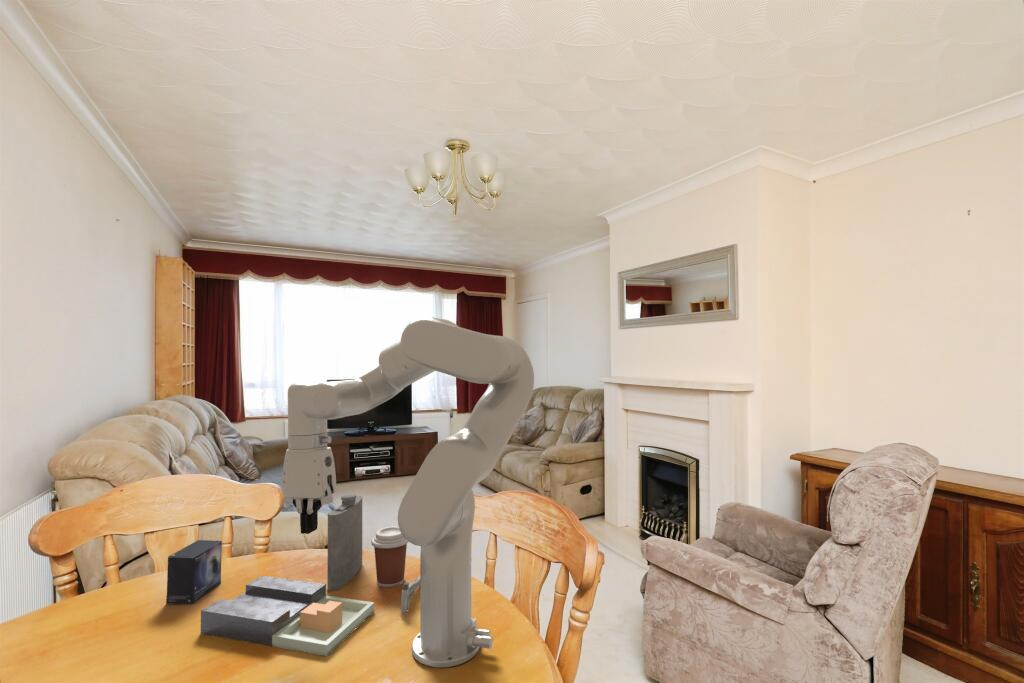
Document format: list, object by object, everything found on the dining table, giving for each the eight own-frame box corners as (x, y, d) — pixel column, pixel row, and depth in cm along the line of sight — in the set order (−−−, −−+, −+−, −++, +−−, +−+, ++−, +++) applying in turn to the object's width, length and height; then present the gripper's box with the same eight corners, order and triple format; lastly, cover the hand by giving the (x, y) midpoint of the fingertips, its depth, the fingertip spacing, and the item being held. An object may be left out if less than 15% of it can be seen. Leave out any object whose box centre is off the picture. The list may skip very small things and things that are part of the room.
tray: (374, 612, 104) (374, 602, 104) (327, 656, 89) (327, 645, 89) (325, 604, 108) (325, 595, 108) (272, 646, 92) (272, 635, 92)
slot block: (325, 604, 108) (325, 584, 108) (272, 646, 92) (272, 622, 92) (262, 595, 112) (262, 575, 112) (200, 633, 97) (200, 610, 97)
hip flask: (352, 562, 130) (352, 486, 131) (367, 562, 130) (367, 486, 131) (325, 590, 114) (325, 504, 115) (341, 591, 114) (342, 504, 115)
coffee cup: (363, 587, 116) (364, 536, 116) (382, 571, 124) (382, 523, 125) (399, 591, 113) (399, 539, 114) (415, 574, 122) (415, 526, 123)
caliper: (405, 617, 103) (406, 587, 103) (400, 617, 103) (400, 587, 103) (429, 574, 123) (429, 549, 123) (425, 574, 123) (425, 549, 123)
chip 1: (329, 620, 100) (329, 605, 100) (316, 630, 97) (316, 615, 97) (313, 617, 101) (313, 602, 102) (299, 627, 98) (300, 612, 98)
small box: (193, 605, 108) (194, 557, 108) (164, 605, 108) (165, 557, 109) (223, 583, 119) (223, 539, 119) (196, 583, 119) (197, 539, 119)
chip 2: (329, 620, 100) (342, 622, 99) (316, 631, 96) (329, 633, 96) (329, 600, 100) (342, 602, 99) (316, 610, 96) (329, 612, 96)
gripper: (350, 439, 103) (351, 527, 103) (289, 438, 107) (290, 523, 106) (328, 445, 96) (329, 540, 95) (264, 444, 100) (265, 535, 99)
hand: (309, 531), depth 101 cm, fingers closed
